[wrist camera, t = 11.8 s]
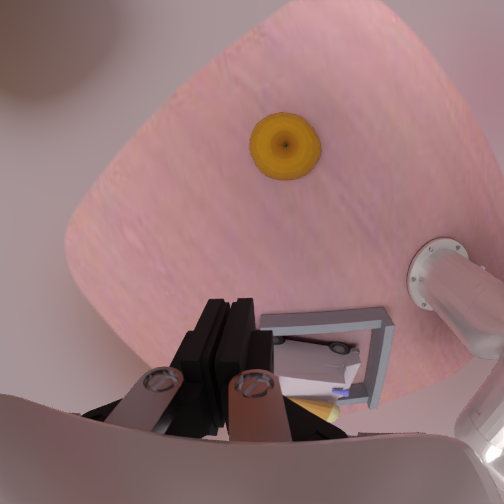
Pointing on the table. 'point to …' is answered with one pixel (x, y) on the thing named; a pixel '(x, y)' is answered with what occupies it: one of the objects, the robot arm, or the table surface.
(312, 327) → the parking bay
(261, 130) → the apple
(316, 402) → the toy vehicle
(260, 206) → the table surface
